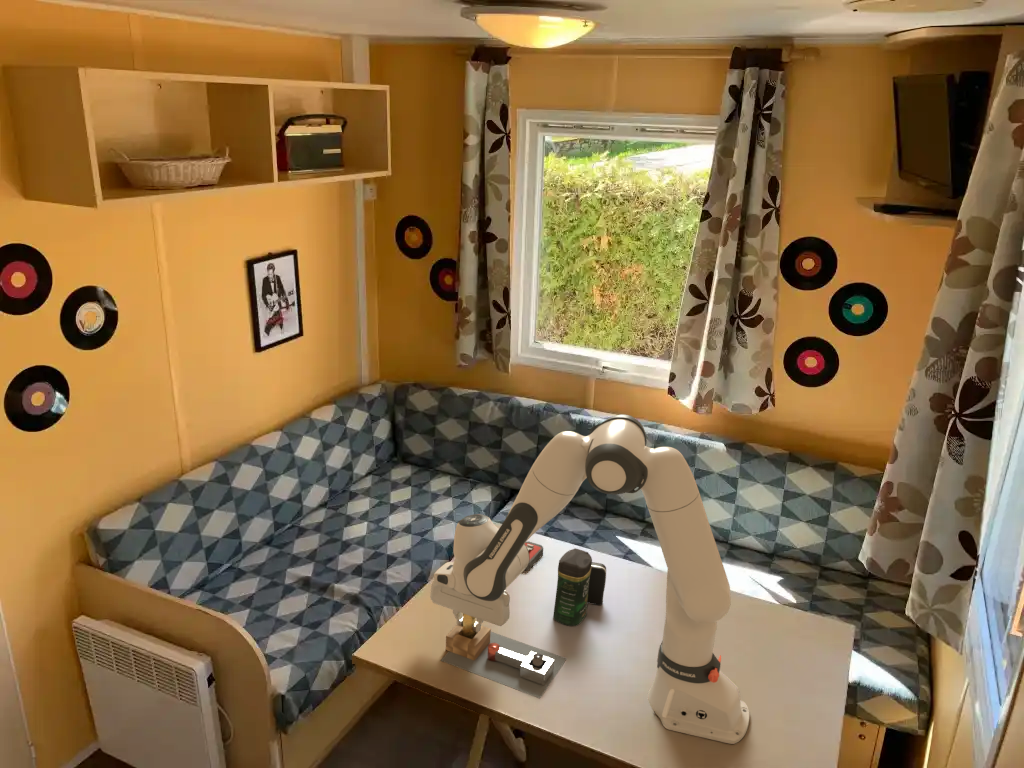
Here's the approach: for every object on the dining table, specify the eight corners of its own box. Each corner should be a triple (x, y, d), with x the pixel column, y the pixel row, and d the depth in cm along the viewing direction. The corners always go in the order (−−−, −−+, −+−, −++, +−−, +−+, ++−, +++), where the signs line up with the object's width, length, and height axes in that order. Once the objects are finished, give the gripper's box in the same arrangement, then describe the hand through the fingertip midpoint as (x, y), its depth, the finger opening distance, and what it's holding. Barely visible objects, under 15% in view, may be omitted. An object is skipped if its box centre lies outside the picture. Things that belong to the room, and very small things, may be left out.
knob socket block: (553, 670, 186) (554, 659, 185) (543, 685, 181) (544, 674, 180) (493, 648, 193) (494, 637, 192) (482, 662, 187) (482, 651, 186)
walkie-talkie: (520, 545, 242) (489, 576, 225) (520, 533, 241) (489, 562, 224) (545, 553, 239) (516, 584, 222) (546, 540, 237) (517, 571, 220)
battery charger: (604, 598, 217) (607, 562, 214) (602, 606, 214) (606, 569, 210) (578, 594, 218) (582, 558, 215) (577, 602, 215) (580, 565, 211)
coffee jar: (577, 631, 202) (583, 568, 197) (549, 621, 206) (554, 559, 200) (590, 612, 211) (596, 551, 205) (563, 603, 214) (568, 542, 208)
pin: (476, 638, 193) (478, 607, 191) (470, 645, 191) (472, 613, 188) (465, 634, 195) (467, 603, 192) (459, 641, 192) (461, 609, 189)
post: (543, 673, 185) (544, 655, 184) (539, 679, 183) (540, 661, 182) (534, 669, 186) (535, 652, 185) (529, 675, 184) (531, 657, 183)
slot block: (490, 642, 195) (490, 628, 194) (474, 660, 188) (475, 646, 187) (461, 632, 198) (462, 618, 197) (445, 649, 192) (446, 635, 190)
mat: (566, 660, 191) (566, 658, 191) (539, 700, 177) (539, 698, 177) (472, 627, 202) (473, 625, 201) (440, 662, 188) (440, 660, 188)
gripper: (515, 584, 186) (512, 634, 190) (441, 560, 194) (439, 608, 198) (504, 597, 180) (500, 648, 185) (427, 572, 189) (426, 621, 193)
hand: (468, 627), depth 192 cm, fingers closed on pin, 3 cm apart
